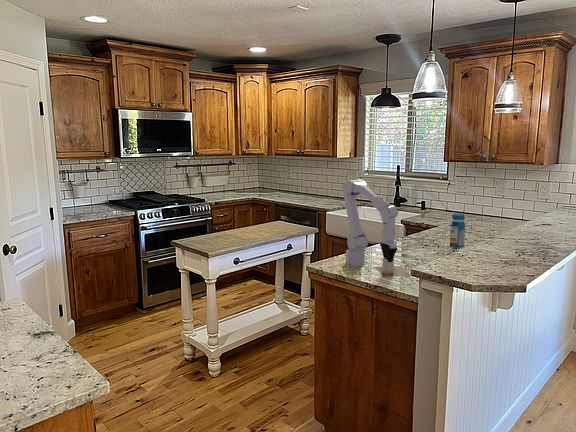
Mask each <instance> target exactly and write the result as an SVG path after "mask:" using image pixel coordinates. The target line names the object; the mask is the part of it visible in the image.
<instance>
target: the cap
mask: <svg viewBox="0 0 576 432" xmlns="http://www.w3.org/2000/svg"><path fill="white" fill-rule="evenodd" d="M381 263H382V264H381V265H382V266H381V267H382V269H383V270H387V271H391V270H394V266H395V260H394V259H393V262H388V261H387V258H384V257H383V258H382V261H381Z"/></svg>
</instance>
